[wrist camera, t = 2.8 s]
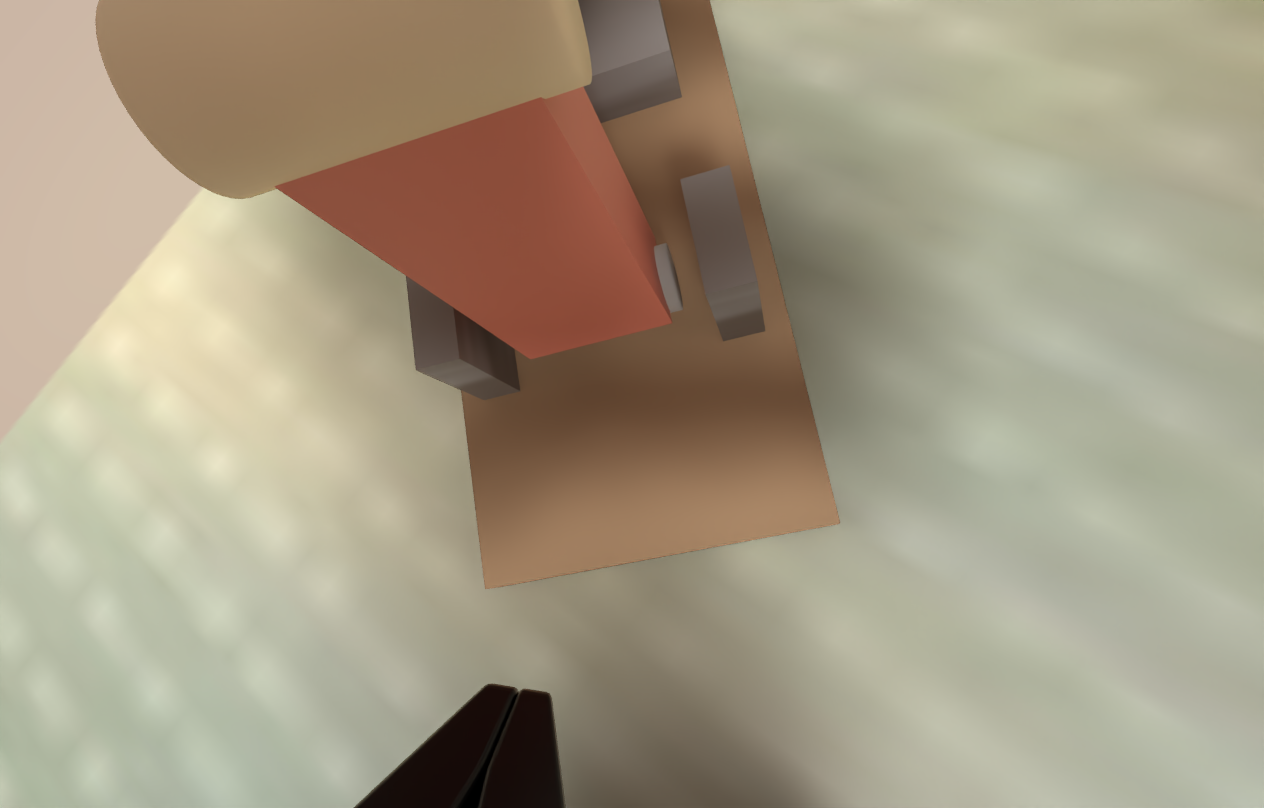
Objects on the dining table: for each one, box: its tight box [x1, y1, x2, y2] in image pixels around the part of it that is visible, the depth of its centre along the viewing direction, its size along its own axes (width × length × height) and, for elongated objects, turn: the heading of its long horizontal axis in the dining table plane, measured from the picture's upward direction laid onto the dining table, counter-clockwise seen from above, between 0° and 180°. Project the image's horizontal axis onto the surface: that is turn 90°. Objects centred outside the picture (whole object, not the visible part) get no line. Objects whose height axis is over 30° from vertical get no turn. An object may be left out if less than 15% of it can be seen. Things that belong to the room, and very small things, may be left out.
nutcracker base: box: [406, 0, 840, 589], centre depth 19 cm, size 20×10×5 cm, turn 10°
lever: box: [96, 0, 683, 359], centre depth 13 cm, size 3×5×12 cm, turn 100°
